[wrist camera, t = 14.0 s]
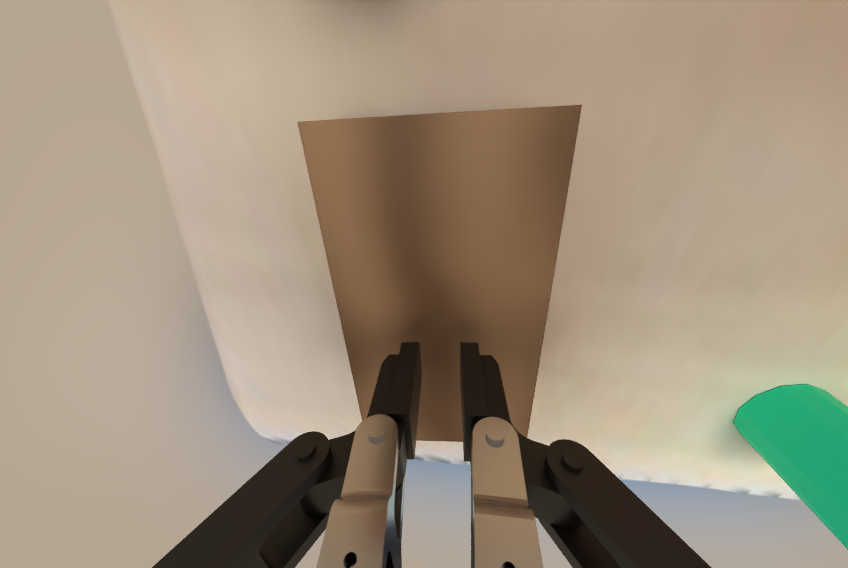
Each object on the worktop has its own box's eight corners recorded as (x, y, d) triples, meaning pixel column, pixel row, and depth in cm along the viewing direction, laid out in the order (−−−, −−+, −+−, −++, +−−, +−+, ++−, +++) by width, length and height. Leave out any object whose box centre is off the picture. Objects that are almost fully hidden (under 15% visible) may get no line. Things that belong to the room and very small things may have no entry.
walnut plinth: (541, 109, 15) (581, 104, 10) (511, 382, 23) (525, 443, 19) (339, 121, 16) (297, 122, 11) (381, 380, 24) (366, 438, 20)
